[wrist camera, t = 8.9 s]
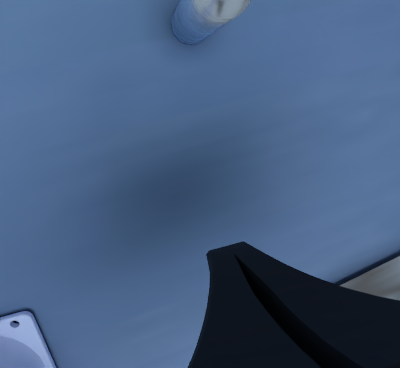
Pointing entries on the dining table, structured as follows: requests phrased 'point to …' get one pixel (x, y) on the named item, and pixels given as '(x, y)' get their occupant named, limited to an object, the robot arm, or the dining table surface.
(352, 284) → the gate
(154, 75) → the dining table surface
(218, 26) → the latch post
